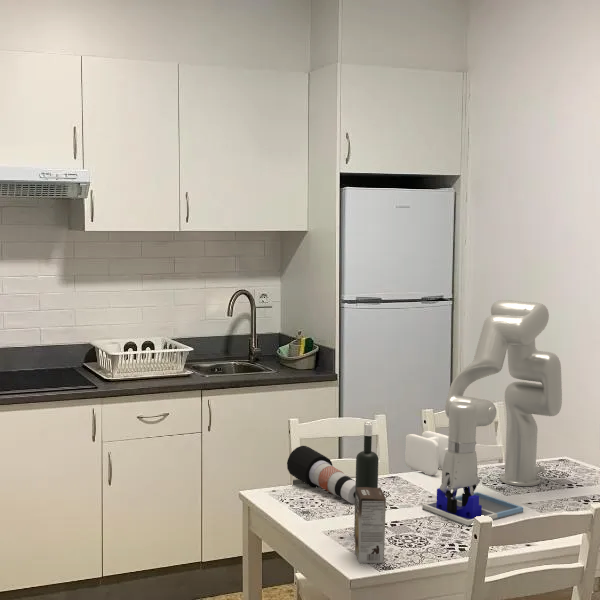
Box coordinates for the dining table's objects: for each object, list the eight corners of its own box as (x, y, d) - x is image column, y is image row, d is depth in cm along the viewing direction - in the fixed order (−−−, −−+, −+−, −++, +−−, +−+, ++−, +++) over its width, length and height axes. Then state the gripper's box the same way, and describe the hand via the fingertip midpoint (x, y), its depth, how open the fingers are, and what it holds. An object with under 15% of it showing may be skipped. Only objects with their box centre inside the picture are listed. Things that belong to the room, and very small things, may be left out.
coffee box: (353, 549, 238) (355, 486, 237) (379, 549, 239) (381, 486, 237) (357, 563, 229) (359, 497, 228) (384, 563, 230) (386, 497, 228)
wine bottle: (360, 540, 245) (363, 425, 242) (350, 533, 251) (353, 420, 248) (380, 537, 248) (383, 423, 245) (369, 530, 253) (372, 419, 250)
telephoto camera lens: (359, 524, 271) (349, 497, 267) (293, 482, 299) (282, 457, 295) (385, 504, 276) (376, 477, 271) (317, 464, 303) (308, 439, 299)
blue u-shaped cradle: (481, 515, 266) (482, 494, 265) (472, 519, 262) (473, 498, 262) (445, 506, 274) (446, 485, 273) (436, 509, 271) (436, 488, 270)
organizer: (402, 467, 316) (403, 432, 315) (425, 462, 323) (426, 428, 322) (434, 478, 304) (435, 442, 303) (457, 473, 311) (459, 437, 310)
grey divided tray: (477, 496, 285) (477, 491, 285) (523, 512, 271) (523, 507, 271) (422, 509, 272) (422, 504, 272) (467, 526, 258) (467, 521, 258)
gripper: (473, 440, 274) (470, 502, 276) (429, 447, 264) (427, 512, 266) (492, 445, 268) (490, 508, 270) (449, 453, 258) (446, 519, 260)
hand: (459, 509), depth 268 cm, fingers closed on blue u-shaped cradle, 5 cm apart
